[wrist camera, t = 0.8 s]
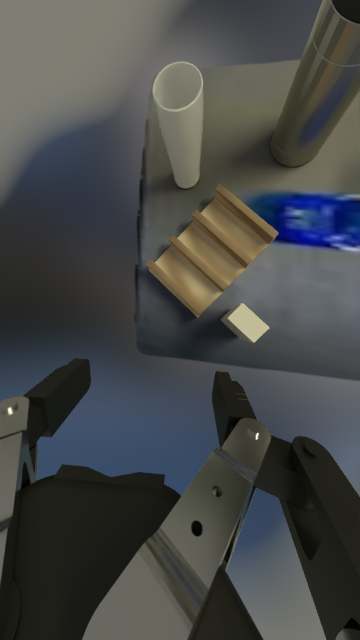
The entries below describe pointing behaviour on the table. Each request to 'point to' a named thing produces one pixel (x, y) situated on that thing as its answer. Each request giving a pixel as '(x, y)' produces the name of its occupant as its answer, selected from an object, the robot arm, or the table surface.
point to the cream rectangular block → (244, 323)
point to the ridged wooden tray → (212, 251)
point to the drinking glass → (181, 119)
